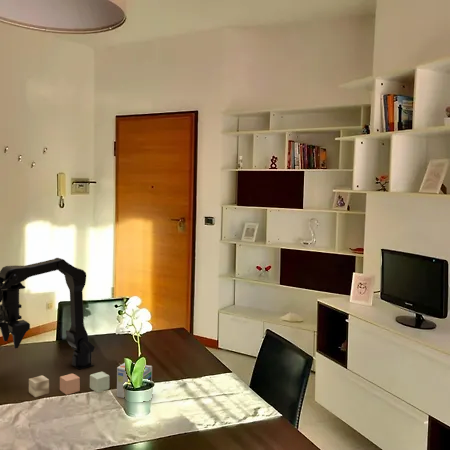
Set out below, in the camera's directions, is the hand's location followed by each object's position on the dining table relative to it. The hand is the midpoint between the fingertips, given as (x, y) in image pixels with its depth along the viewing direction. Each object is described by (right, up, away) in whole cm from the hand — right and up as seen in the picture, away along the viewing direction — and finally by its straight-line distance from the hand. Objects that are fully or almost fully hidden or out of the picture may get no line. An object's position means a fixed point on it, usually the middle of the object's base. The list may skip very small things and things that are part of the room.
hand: (11, 344), depth 189 cm
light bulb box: (+45, -17, -4) cm, 48 cm away
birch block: (+12, -16, -5) cm, 20 cm away
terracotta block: (+22, -16, -2) cm, 27 cm away
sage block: (+31, -16, +1) cm, 35 cm away
